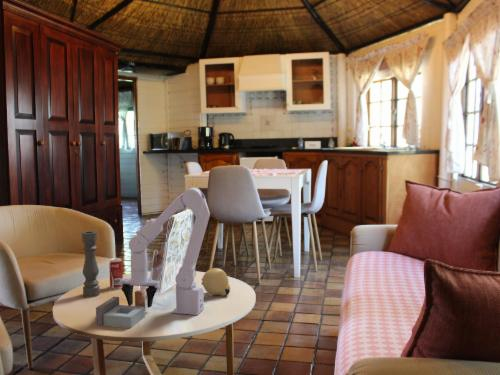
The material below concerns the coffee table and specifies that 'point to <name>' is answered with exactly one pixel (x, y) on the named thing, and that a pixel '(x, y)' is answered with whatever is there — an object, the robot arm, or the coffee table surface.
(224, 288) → the toy pig
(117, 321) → the socket block
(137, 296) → the dowel
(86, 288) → the candle holder
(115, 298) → the charcoal wall
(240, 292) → the coffee table surface
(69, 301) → the coffee table surface
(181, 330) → the coffee table surface
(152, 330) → the coffee table surface
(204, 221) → the robot arm
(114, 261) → the soda can
